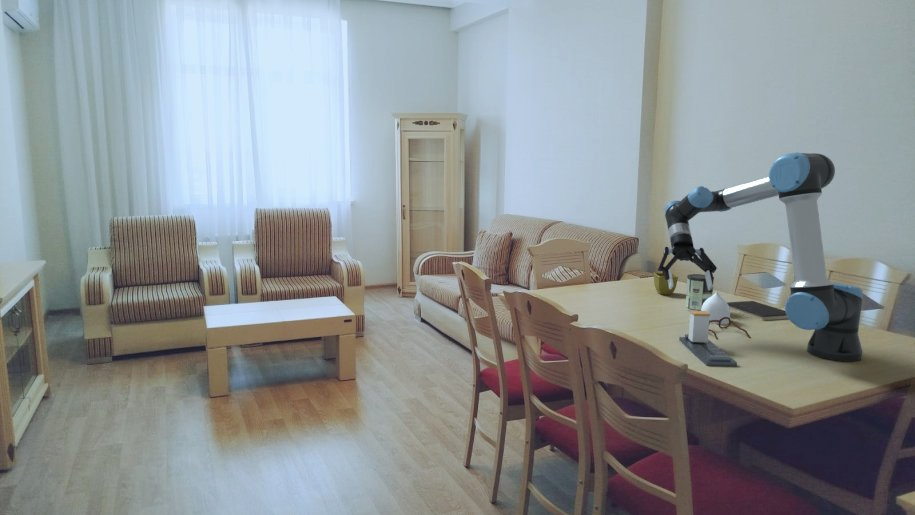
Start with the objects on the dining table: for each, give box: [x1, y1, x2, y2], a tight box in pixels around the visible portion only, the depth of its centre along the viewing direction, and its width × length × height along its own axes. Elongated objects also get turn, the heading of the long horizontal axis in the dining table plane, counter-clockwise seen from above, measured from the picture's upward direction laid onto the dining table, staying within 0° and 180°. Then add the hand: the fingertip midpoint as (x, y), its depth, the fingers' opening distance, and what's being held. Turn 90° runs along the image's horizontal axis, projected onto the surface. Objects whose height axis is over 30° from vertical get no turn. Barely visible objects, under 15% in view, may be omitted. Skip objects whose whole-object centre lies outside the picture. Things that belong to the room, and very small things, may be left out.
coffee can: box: [685, 273, 715, 312], centre depth 255 cm, size 10×10×14 cm
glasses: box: [708, 317, 752, 341], centre depth 221 cm, size 13×13×5 cm
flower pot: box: [653, 272, 679, 295], centre depth 285 cm, size 9×9×9 cm
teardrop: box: [701, 290, 731, 325], centre depth 238 cm, size 11×11×12 cm
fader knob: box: [688, 311, 710, 342], centre depth 206 cm, size 4×5×10 cm
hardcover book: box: [726, 300, 789, 321], centre depth 253 cm, size 16×23×2 cm
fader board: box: [678, 333, 738, 367], centre depth 199 cm, size 26×9×2 cm, turn 178°
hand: (691, 287), depth 215 cm, fingers open, 13 cm apart
